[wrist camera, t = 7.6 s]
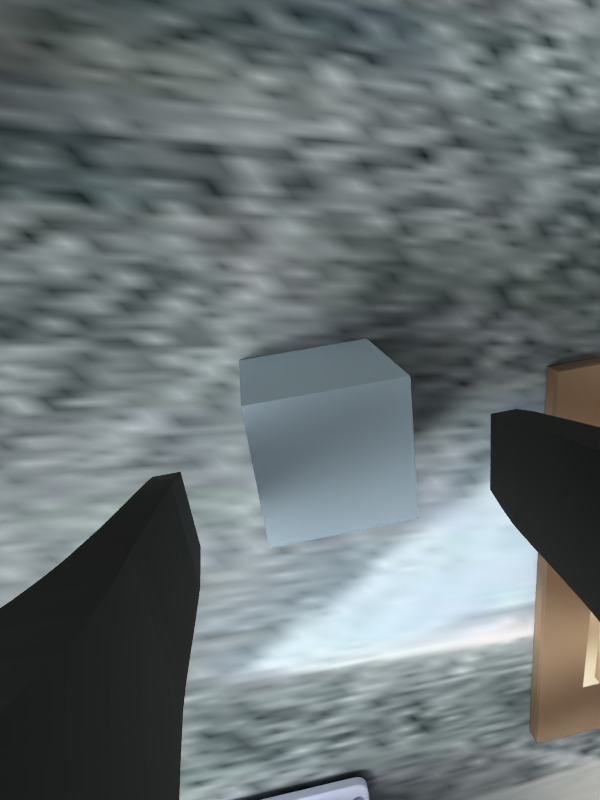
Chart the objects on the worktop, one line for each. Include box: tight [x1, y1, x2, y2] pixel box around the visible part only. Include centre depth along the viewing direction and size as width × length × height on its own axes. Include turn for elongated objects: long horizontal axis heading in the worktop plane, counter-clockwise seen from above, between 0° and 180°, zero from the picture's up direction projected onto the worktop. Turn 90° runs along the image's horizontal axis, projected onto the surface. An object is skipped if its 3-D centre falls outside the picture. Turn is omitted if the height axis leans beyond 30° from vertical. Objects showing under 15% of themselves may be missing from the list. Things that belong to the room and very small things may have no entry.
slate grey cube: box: [239, 339, 419, 548], centre depth 14 cm, size 4×4×4 cm
